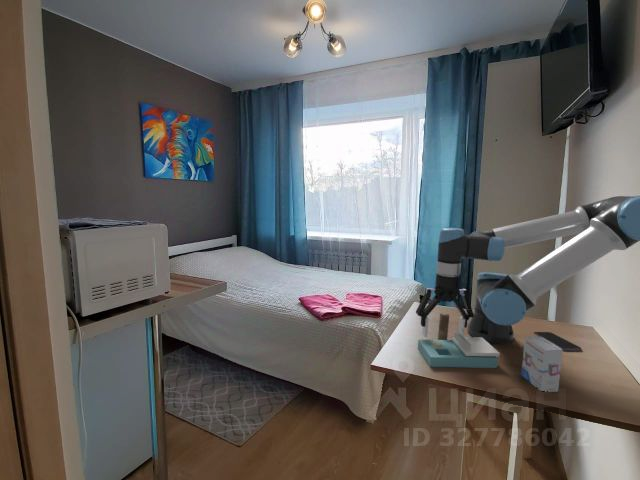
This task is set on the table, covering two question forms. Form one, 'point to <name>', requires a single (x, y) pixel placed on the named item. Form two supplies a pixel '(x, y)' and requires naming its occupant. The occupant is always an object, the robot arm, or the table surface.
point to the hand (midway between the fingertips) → (442, 335)
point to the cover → (474, 346)
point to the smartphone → (558, 341)
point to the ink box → (542, 363)
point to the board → (452, 355)
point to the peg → (443, 326)
